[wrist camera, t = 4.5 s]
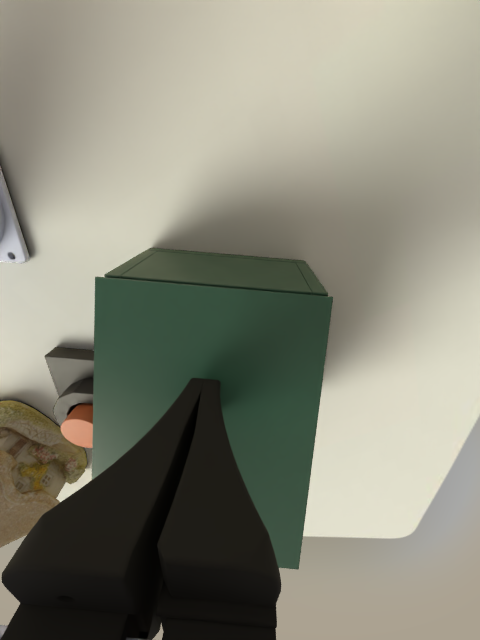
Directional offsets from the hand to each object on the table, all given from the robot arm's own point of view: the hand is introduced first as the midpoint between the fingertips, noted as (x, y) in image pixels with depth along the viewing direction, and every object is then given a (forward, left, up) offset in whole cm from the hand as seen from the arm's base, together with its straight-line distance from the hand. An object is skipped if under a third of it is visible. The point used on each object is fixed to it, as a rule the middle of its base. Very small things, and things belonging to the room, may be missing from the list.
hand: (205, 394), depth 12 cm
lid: (0, -2, 0) cm, 2 cm away
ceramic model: (-22, -19, -9) cm, 30 cm away
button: (-11, -10, -6) cm, 16 cm away
